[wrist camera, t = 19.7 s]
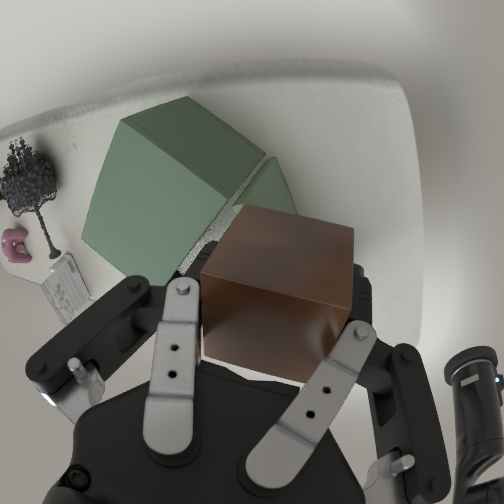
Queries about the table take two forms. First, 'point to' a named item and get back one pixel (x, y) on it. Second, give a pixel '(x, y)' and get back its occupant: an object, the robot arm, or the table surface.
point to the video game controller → (14, 251)
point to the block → (277, 292)
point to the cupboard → (164, 187)
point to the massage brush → (28, 185)
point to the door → (269, 192)
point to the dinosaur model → (2, 196)
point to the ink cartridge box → (65, 288)
